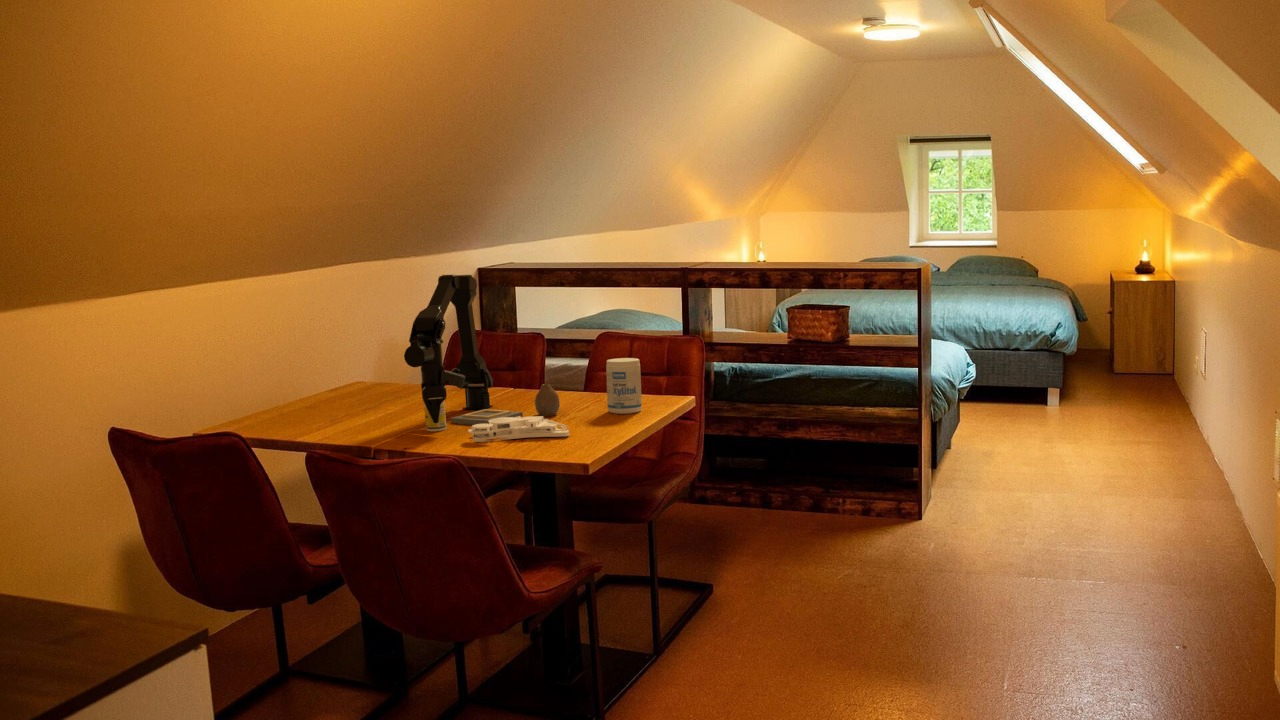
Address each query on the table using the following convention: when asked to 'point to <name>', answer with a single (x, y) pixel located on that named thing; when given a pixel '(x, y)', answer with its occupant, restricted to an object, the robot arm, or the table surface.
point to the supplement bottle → (441, 423)
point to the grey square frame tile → (483, 416)
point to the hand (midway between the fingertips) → (435, 420)
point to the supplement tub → (623, 385)
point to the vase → (547, 401)
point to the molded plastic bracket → (517, 428)
